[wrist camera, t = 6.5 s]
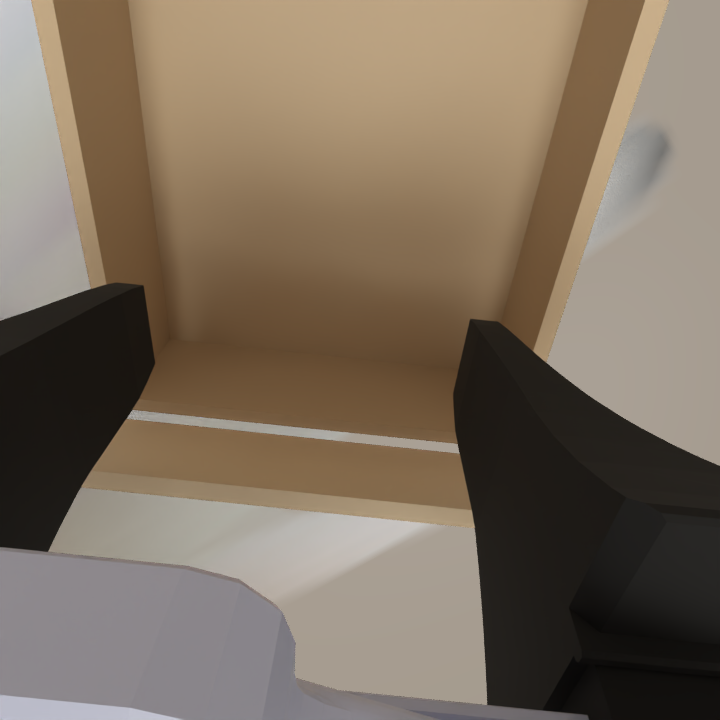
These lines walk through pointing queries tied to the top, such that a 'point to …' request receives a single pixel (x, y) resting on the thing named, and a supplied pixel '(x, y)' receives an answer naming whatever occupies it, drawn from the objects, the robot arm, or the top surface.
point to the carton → (338, 186)
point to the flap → (285, 473)
